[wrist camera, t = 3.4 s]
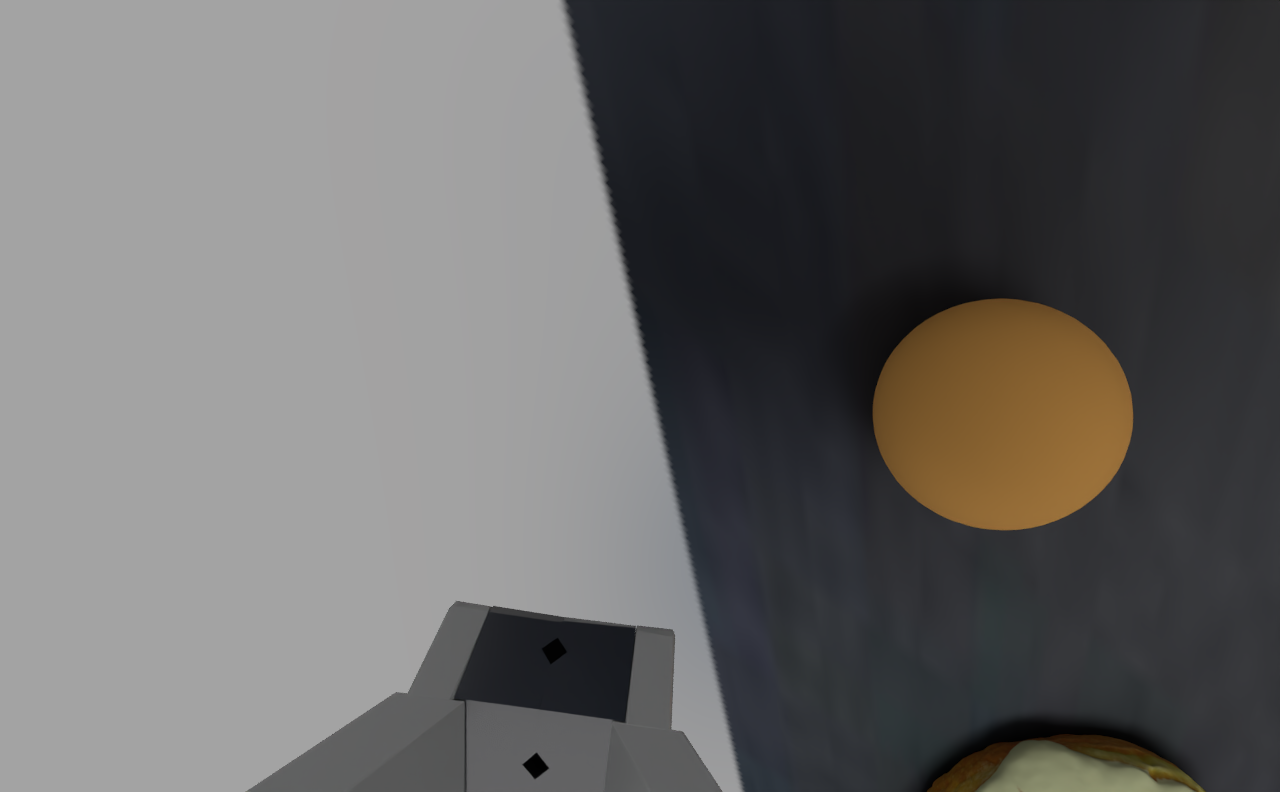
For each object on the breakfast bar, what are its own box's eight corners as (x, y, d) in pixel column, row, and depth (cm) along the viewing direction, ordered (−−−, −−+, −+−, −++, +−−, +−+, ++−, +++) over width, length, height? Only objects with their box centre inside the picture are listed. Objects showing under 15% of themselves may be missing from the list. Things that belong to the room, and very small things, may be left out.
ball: (879, 261, 20) (947, 327, 14) (1092, 286, 20) (1243, 362, 14) (834, 446, 22) (877, 562, 17) (1022, 470, 22) (1128, 595, 17)
